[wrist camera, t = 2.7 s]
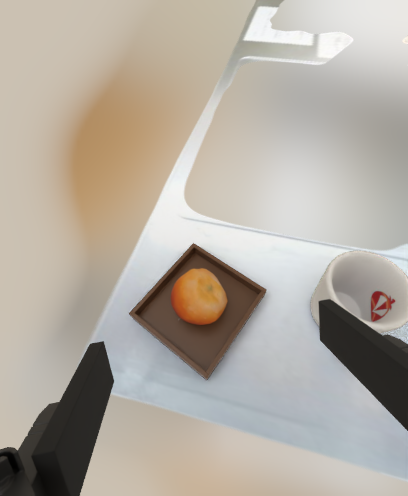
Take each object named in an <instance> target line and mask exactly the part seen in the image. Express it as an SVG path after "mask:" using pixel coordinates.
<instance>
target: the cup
mask: <svg viewBox="0 0 408 496" xmlns="http://www.w3.org/2000/svg"><path fill="white" fill-rule="evenodd" d="M326 299H331V300H333V301H334V302H335V303H337V304H338V305H340V306H341V307H343V308H344V309H345V310H347V311H348V312H350V313H351V314H352V315H354V316H355V317H357V318H358V319H360V320H361V321H362V322H364V323H365V324H367V325H368V326H369V327H371V328H372V329H374V330H375V331H377V332H378V333H383V332H387V331H391V330H395V329H398V328H400V327H402V326H403V325H405V324H406V323H407V322H408V277H407V276H406V274H405V273H404V272H403V271H402V270H401V269H400V268H399V267H398V266H397V265H395V264H394V263H393V262H391V261H390V260H388V259H386V258H384V257H382V256H380V255H378V254H375V253H371V252H366V251H350V252H346V253H343V254H341V255H339V256H337V257H336V258H335V259H334V260H333V261H332V262H331V263H330V264H329V266H328V267H327V269H326V271H325V273H324V275H323V276H322V278H321V280H320V282H319V284H318V286H317V287H316V289H315V291H314V293H313V295H312V299H311V312H312V316H313V318H314V320H315V322H316V323H317V324H318V326H319V303H318V301H321V300H326ZM319 327H320V326H319ZM342 364H343V363H342Z"/></svg>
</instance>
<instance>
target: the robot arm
mask: <svg viewBox="0 0 408 496" xmlns="http://www.w3.org/2000/svg"><path fill="white" fill-rule="evenodd" d="M318 303H319V326H320V341H321V342H322V343H323V344H324V345H325V346H326V347H327V348H328V349H329V350H330V351H331V352H332V353H333V354H334V355H335V356H336V357H337V358H338V359H339V360H340V361H341V362H342V363H343V364H344V365H345V366H346V367H347V368H348V370H349V371H350V372H351V373H352V374H353V375H354V376H355V377H356V378H357V379H358V380H359V381H360V382H361V383H362V384H363V385H364V386H365V387H366V388H367V389H368V390H369V391H370V392H371V393H372V394H373V395H374V396H375V397H376V399H377V400H378V401H379V402H380V403H381V404H382V405H383V406H384V407H385V408H386V409H387V410H388V411H389V412H390V413H391V414H392V415H393V416H394V417H395V418H396V419H397V420H398V421H399V422H400V423H401V424H402V425H403V426H404V427H405V429H406V430H407V431H408V344H406V343H405V342H403V341H402V340H400V339H398V338H395V337H393V336H390V335H383V336H382V335H381V334H379V333H378V332H377V331H375V330H374V329H372V328H371V327H369V326H368V325H367V324H365V323H364V322H362V321H361V320H360V319H358V318H357V317H355V316H354V315H352V314H351V313H350V312H348V311H347V310H345V309H344V308H343V307H341V306H340V305H338V304H337V303H335V302H334V301H333V300H331V299H326V300H321V301H318ZM113 383H114V379H113V375H112V372H111V368H110V364H109V360H108V356H107V352H106V349H105V345H104V341H103V342H97V343H92V344H90V345H89V347H88V349H87V351H86V353H85V355H84V357H83V358H82V360H81V362H80V364H79V366H78V368H77V370H76V372H75V374H74V376H73V377H72V379H71V381H70V383H69V385H68V387H67V389H66V391H65V393H64V394H63V396H62V399H61V400H60V402H57V403H52V404H49V405H48V406H47V407H46V408H45V409H44V410H43V411H42V412H41V413H40V414H39V416H38V418H37V419H36V421H35V422H34V424H33V427H31V429H30V431H29V433H28V436H27V437H26V438H25V439H24V441H23V443H22V445H21V446H20V448H19V450H18V451H17V450H16V449H15V448H11V447H7V448H4V449H0V496H80V492H81V489H82V486H83V482H84V479H85V476H86V472H87V469H88V466H89V463H90V459H91V456H92V453H93V449H94V446H95V443H96V439H97V436H98V433H99V430H100V426H101V423H102V420H103V416H104V413H105V410H106V406H107V403H108V400H109V396H110V393H111V390H112V387H113Z"/></svg>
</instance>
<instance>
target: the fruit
mask: <svg viewBox="0 0 408 496" xmlns="http://www.w3.org/2000/svg"><path fill="white" fill-rule="evenodd" d="M227 301H228V300H227V297H226V293H225V291H224V289H223V287H222V286H221V284H220V282H219V281H218V279H217V278H216V277H215V275H214V274H213V273H211V272H210V271H208V270H207V269H203V268H201V269H191V270H189V271H188V272H187V273H185V274H184V275H183V276H181V277H180V278H179V279H178V280H177V281H176V283H175V284H174V287H173V289H172V292H171V305H172V307H173V309H174V311H175V312H176V314H177V315H178V316H179V319H178V321H179V320H180V319H182V320H184V321H186V322H188V323H191V324H196V325H205V324H210V323H212V322H214V321H216V320H217V319H218V318H219V317H220V316H221V314H222V313H223V311H224V309H225V307H226V304H227Z"/></svg>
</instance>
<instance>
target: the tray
mask: <svg viewBox="0 0 408 496" xmlns="http://www.w3.org/2000/svg"><path fill="white" fill-rule="evenodd" d="M201 268H203V269H207V270H208V271H210V272H211V273H213V274H214V275H215V277H216V278H217V279H218V281H219V282H220V284H221V286H222V287H223V289H224V291H225V293H226V297H227V300H228V301H227V304H226V307H225V309H224V311H223V313H222V314H221V316H220V317H219V318H218V319H217V320H216V321H214V322H212V323H210V324H205V325H196V324H191V323H188V322H186V321H184V320H182V319H180V320H179V321H178V319H179V316H178V315H177V314H176V312H175V311H174V309H173V307H172V305H171V292H172V289H173V287H174V284H175V283H176V281H177V280H178V279H179V278H180V277H181V276H183V275H184V274H185V273H187V272H188V271H189V270H191V269H201ZM266 291H267V290H266V289H264V288H263V287H261V286H260V285H258V284H257V283H255V282H253V281H252V280H250V279H249V278H247V277H246V276H244V275H242V274H241V273H239V272H238V271H236V270H235V269H233V268H232V267H230V266H228V265H227V264H225V263H224V262H222V261H221V260H219V259H217V258H216V257H214V256H213V255H211V254H210V253H208V252H206V251H205V250H203V249H202V248H200V247H199V246H197V245H196V244H194V243H193V244H192V245H191V246H190V247H189V249H188V250H187V251H186V252H185V253H184V254H183V255H182V256H181V257H180V258H179V259H178V261H177V262H176V263H175V264H174V265H173V266H172V267H171V268H170V269H169V270H168V271H167V273H166V274H165V275H164V276H163V277H162V278H161V279H160V280H159V281H158V282H157V283H156V285H155V286H154V287H153V288H152V289H151V290H150V291H149V292H148V293H147V294H146V295H145V297H144V298H143V299H142V300H141V301H140V302H139V303H138V304H137V305H136V306H135V307H134V309H133V310H132V311H131V312H130V313H129V314H130V316H131V317H132V318H133V319H134V320H135V321H136V322H138V323H139V324H140V325H141V326H142V327H144V328H145V329H146V330H147V331H148V332H150V333H151V334H152V335H153V336H154V337H156V338H157V339H158V340H159V341H160V342H161V343H163V344H164V345H165V346H166V347H167V348H169V349H170V350H171V351H172V352H173V353H175V354H176V355H177V356H178V357H179V358H181V359H182V360H183V361H184V362H185V363H187V364H188V365H189V366H190V367H191V368H193V369H194V370H195V371H196V372H197V373H199V374H200V375H201V376H202V377H203V378H204V379H206V380H208V378H209V377H210V375H211V374H212V372H213V371H214V369H215V368H216V366H217V365H218V363H219V362H220V360H221V359H222V357H223V356H224V354H225V353H226V351H227V350H228V348H229V347H230V346H231V344H232V343H233V341H234V340H235V338H236V337H237V335H238V334H239V332H240V331H241V329H242V328H243V326H244V325H245V323H246V322H247V320H248V319H249V317H250V316H251V314H252V313H253V311H254V310H255V309H256V307H257V306H258V304H259V303H260V301H261V300H262V298H263V297H264V295H265V293H266Z"/></svg>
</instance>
